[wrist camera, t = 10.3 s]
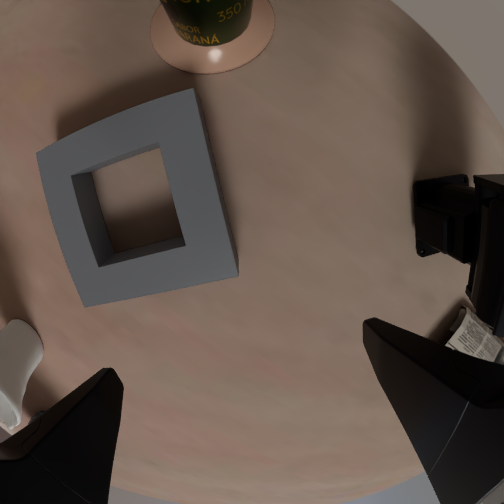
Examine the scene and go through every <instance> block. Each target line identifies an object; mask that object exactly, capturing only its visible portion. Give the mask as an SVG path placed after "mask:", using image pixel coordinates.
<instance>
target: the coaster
mask: <svg viewBox="0 0 504 504" xmlns="http://www.w3.org/2000/svg"><path fill="white" fill-rule="evenodd" d="M274 25H275V17H274V13H273V9H272V7H271V5H270V3H269V2H268V0H253V5H252V13H251V20H250V22H249V25H248V27H247V29H246V30H245V31H244V32H243V33H242V34H241V35H240V36H239V37H237V38H236V39H234V40H232V41H231V42H229V43H226V44H222V45H219V46H211V47H204V46H198V45H193V44H191V43H189V42H187V41H184V40H183V39H182V38H181V37H180V36H179V35H178V34H177V33H176V31H175V29H174V27H173V25H172V23H171V21H170V19H169V17H168V15H167V13H166V11H165V9H164V7H163V5H162V3H161V5H160V6H159V7H158V9H157V10H156V12H155V14H154V16H153V18H152V22H151V27H150V37H151V41H152V44H153V46H154V49H155V50H156V52H157V53H158V54H159V56H160V57H161V58H162V59H163V60H164V61H165V62H167V63H168V64H169V65H171V66H173V67H175V68H177V69H179V70H182V71H185V72H189V73H195V74H217V73H223V72H227V71H231V70H234V69H236V68H239V67H241V66H243V65H245V64H247V63H249V62H250V61H252V60H253V59H255V58H256V57H257V56H258V55H259V54H260V53H261V52H262V51H263V50H264V49H265V48H266V46H267V45H268V43H269V41H270V39H271V37H272V34H273V31H274Z"/></svg>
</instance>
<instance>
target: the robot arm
mask: <svg viewBox="0 0 504 504" xmlns="http://www.w3.org/2000/svg"><path fill="white" fill-rule="evenodd" d="M463 179H464V182H463ZM473 179H474V183H475V188H473V187H469V181H468V177H467V175H464V174H459V175H452V176H445V177H438V178H431V179H425V180H418V181H416V182H415V183H414V187H413V188H414V199H415V227H416V238H417V254H418V255H419V256H420V257H426V256H429V255H432V254H435V253H439V252H442V253H444V254H448V255H449V256H451V257H453V258H455V259H456V260H458V261H460V262H461V263H463V264H466V263H467V264H469V265H471V266H470V273H469V280H468V285H467V286H466V291H465V293H466V294H467V296H468V297H469V299H470V300H471V302H472V304H473V306H474V308H475V309H476V313H475V314H476V316H477V317H478V318H479V319H480V320H481V321H482V322H483V323H484V324H486V325H487V326H488V327H489V328H490V329H492V330H493V332H492V334H493V335H494V336H499V337H504V174H490V175H473ZM419 185H420V186H421V187H420V189H419V188H418V187H419ZM422 250H423V252H422ZM421 252H422V253H421ZM363 343H364V347H365V349H366V352H367V354H368V356H369V359H370V361H371V364H372V366H373V369H374V371H375V374H376V376H377V379H378V381H379V383H380V385H381V387H382V388H383V390H384V392H385V394H386V396H387V397H388V399H389V401H390V403H391V405H392V407H393V409H394V410H395V412H396V414H397V416H398V418H399V420H400V422H401V424H402V426H403V427H404V429H405V431H406V433H407V435H408V437H409V439H410V441H411V443H412V445H413V447H414V449H415V451H416V453H417V455H418V457H419V459H420V461H421V463H422V465H423V467H424V469H425V471H426V473H427V475H428V478H429V480H430V482H431V484H432V486H433V488H434V491H435V493H436V495H437V497H438V499H439V502H440V504H480V503H483V504H504V365H502V364H498V363H494V362H491V361H487V360H484V359H480V358H477V357H474V356H471V355H468V354H466V353H463V352H460V351H458V350H455V349H452V348H450V347H447V346H445V345H442V344H440V343H437V342H435V341H432V340H430V339H427V338H425V337H422V336H420V335H417V334H415V333H412V332H410V331H407V330H405V329H402V328H400V327H397V326H395V325H392V324H390V323H388V322H385V321H383V320H380V319H378V318H375V317H373V318H370V319H367V320H364V322H363ZM123 391H124V387H123V383H122V382H121V380H120V378H119V377H118V375H117V373H116V372H115V370H114V369H113V368H102V369H101V370H100V371H98V372H97V373H96V374H94V375H93V376H92V377H90V378H89V379H88V380H87V381H85V382H84V383H83V384H81V385H80V386H79V387H77V388H76V389H75V390H73V391H72V392H71V393H70V394H68V395H67V396H66V397H64V398H63V399H62V400H60V401H59V402H58V403H56V404H55V405H54V406H53V407H51V408H50V409H49V410H47V411H46V412H45V413H43V414H42V416H39V417H38V418H37V419H35V420H34V421H33V422H31V423H30V424H29V425H27V426H26V427H24V428H23V429H21V430H20V431H18V432H17V433H15V434H14V435H12V436H11V437H9V438H8V439H6V440H5V441H3V442H1V443H0V504H108V496H109V488H110V481H111V474H112V467H113V461H114V455H115V449H116V443H117V437H118V432H119V427H120V420H121V410H122V400H123Z"/></svg>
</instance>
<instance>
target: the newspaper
mask: <svg viewBox="0 0 504 504" xmlns="http://www.w3.org/2000/svg"><path fill="white" fill-rule="evenodd" d="M462 305H463V304H462ZM463 306H464V305H463ZM464 307H465V308H466V310H465V309H460V312H459V316H458V318H457V319H456V321H455V322H454V324H453V325H452V327H451V328H450V329H449V330H451V331H452V332H454V335H453V336H452V337H451V339H450V340H449V341H448V342H447V344H446V345H445V346H447V347H450V348H452V349H455V350H458V351H460V352H463V353H466V354H468V355H471V356H474V357H477V358H480V359H484V360H487V361H491V362H494V363H498V364H502V365H504V343H503V342H502V341H501V340H500V339H499V338H498V337H497V336H494V335H493V334H492V331H491V330H490V329H489V328H488V327H487V326H486V325H485V324H484V323H483V322H482V321H481V320H480V319H479V318H478V317H477V316H476V315H475V314H474V313H473V312H472V311H471V310H470V309H469V308H467V307H466V306H464Z"/></svg>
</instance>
